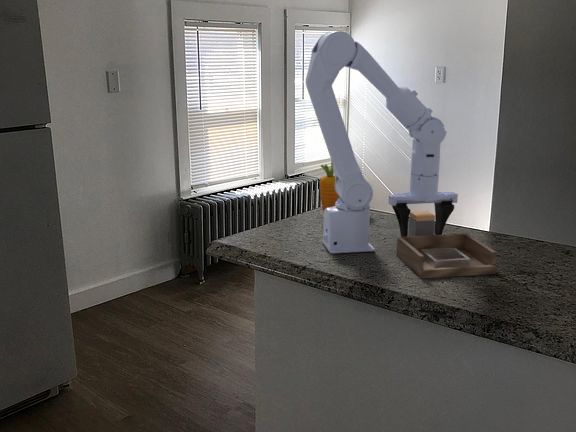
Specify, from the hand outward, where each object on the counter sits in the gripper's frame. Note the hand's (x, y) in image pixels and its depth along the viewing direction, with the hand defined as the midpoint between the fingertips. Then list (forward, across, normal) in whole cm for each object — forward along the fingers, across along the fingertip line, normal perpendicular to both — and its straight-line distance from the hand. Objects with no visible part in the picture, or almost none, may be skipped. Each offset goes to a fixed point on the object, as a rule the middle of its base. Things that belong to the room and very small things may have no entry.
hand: (421, 236), depth 132 cm
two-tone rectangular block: (+2, 0, 0) cm, 2 cm away
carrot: (+2, -15, +21) cm, 26 cm away
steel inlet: (+2, 0, -12) cm, 13 cm away
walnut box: (+2, 0, -12) cm, 13 cm away
